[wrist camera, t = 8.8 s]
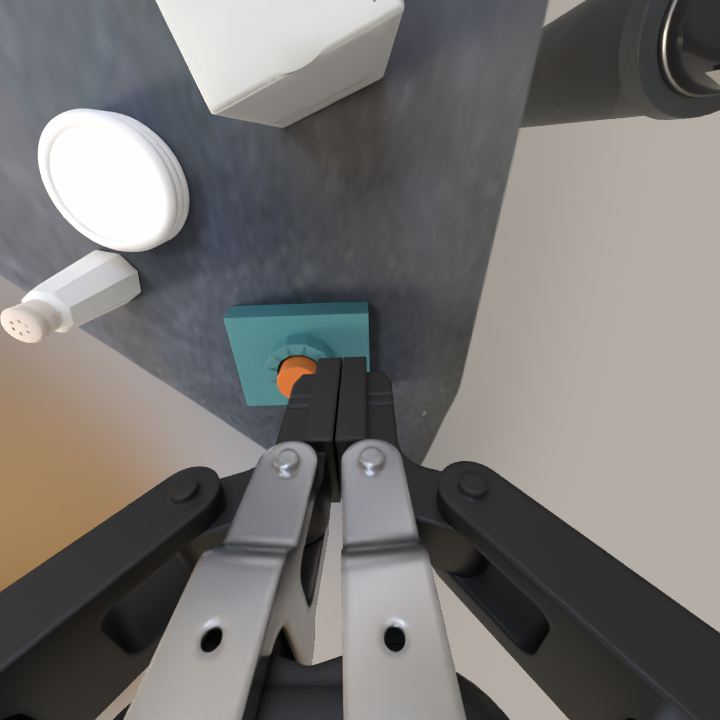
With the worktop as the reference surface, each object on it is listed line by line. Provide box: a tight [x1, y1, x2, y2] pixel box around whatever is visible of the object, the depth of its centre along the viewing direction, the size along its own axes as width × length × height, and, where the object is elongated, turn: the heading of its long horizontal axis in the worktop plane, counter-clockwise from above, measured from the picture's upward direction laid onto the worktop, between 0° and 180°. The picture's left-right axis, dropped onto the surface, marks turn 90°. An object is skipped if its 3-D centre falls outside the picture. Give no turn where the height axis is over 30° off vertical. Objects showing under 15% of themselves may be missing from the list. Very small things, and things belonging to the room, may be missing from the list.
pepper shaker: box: [0, 250, 141, 343], centre depth 29 cm, size 5×5×11 cm
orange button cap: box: [277, 356, 317, 398], centre depth 33 cm, size 4×4×2 cm
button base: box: [224, 301, 370, 406], centre depth 36 cm, size 14×11×5 cm
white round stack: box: [38, 109, 189, 252], centre depth 28 cm, size 10×10×4 cm
